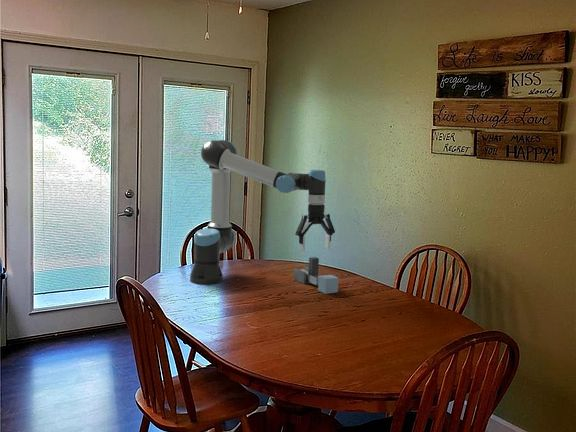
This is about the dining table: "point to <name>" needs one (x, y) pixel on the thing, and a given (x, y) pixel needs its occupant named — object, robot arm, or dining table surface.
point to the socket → (328, 284)
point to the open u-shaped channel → (300, 275)
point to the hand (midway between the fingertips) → (315, 249)
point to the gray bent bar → (312, 271)
